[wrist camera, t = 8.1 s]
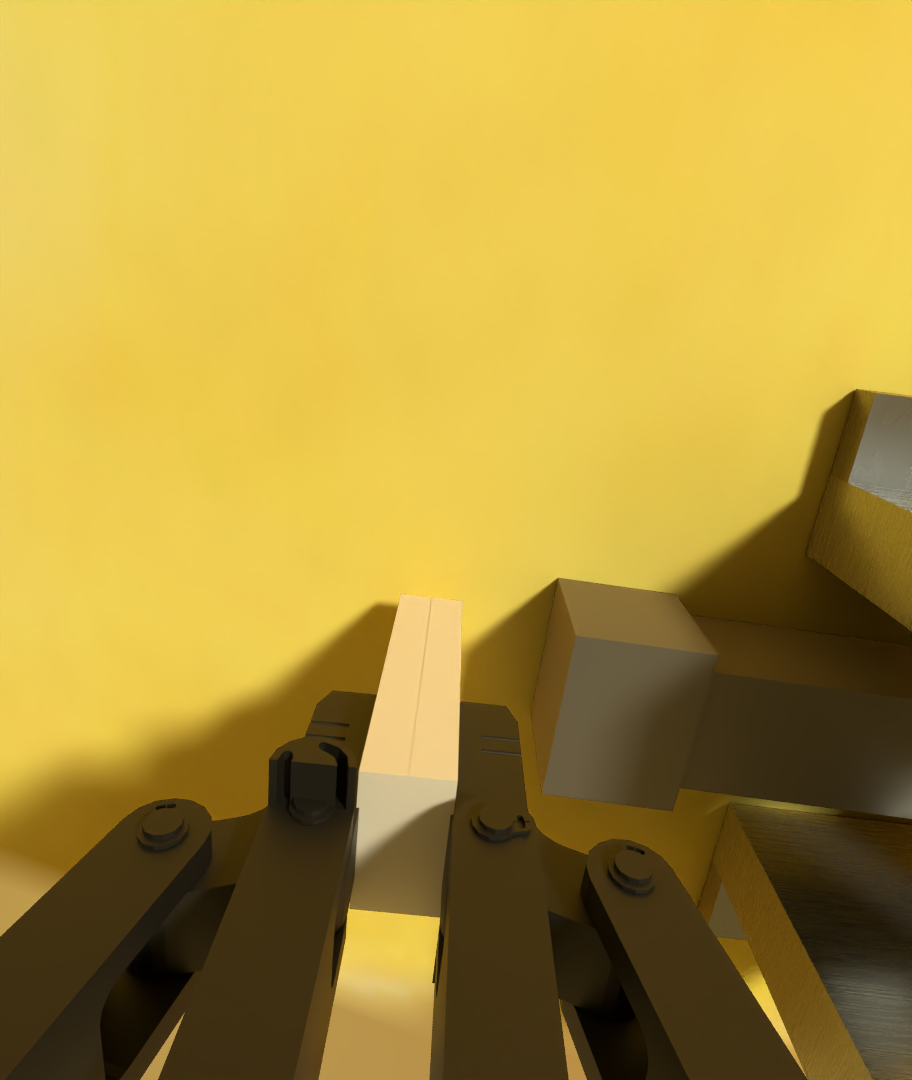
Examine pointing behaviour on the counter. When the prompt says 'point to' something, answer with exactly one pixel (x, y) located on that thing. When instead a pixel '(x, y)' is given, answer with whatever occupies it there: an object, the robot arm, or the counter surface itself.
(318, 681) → the counter surface
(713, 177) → the counter surface
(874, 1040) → the housing
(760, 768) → the plug
